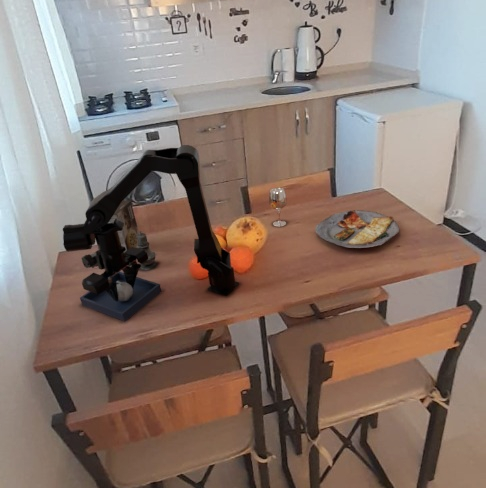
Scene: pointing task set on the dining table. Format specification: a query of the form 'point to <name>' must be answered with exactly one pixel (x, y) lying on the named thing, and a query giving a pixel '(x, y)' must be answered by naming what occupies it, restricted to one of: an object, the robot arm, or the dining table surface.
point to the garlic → (124, 291)
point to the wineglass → (278, 203)
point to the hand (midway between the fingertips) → (123, 295)
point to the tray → (122, 309)
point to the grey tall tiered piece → (144, 245)
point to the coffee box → (126, 225)
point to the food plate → (357, 229)
